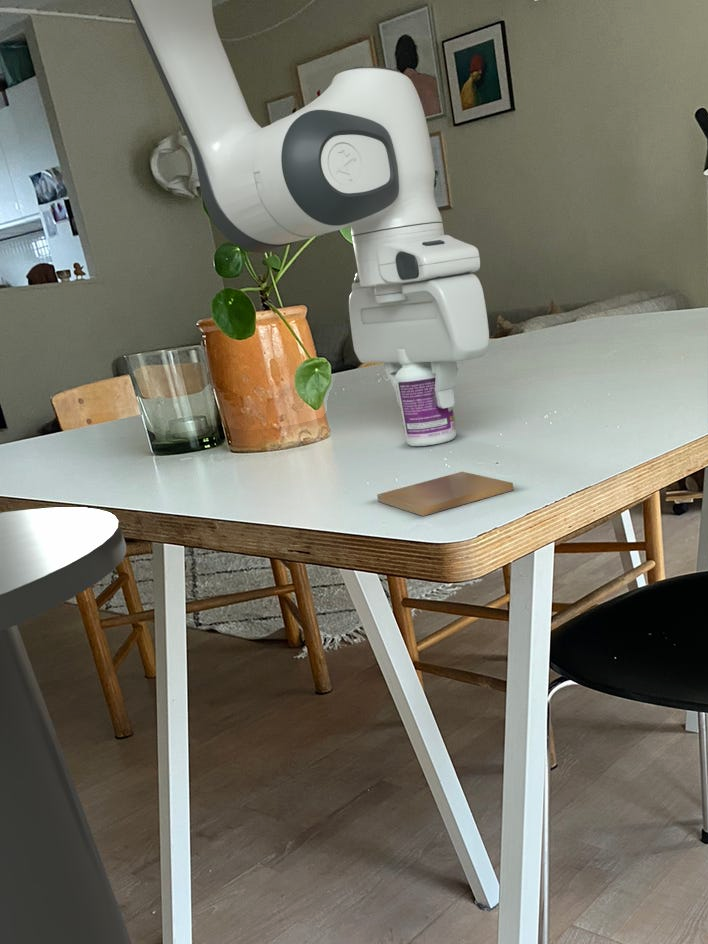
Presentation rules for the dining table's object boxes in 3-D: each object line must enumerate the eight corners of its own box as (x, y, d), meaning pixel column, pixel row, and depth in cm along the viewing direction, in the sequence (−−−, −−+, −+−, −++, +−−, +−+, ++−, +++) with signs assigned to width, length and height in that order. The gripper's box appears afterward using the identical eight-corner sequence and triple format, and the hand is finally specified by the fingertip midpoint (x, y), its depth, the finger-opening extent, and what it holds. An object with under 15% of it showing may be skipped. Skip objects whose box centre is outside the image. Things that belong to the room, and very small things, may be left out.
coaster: (422, 516, 68) (421, 508, 68) (377, 501, 75) (376, 494, 74) (514, 490, 71) (513, 482, 71) (463, 478, 78) (462, 471, 78)
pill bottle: (466, 438, 95) (451, 341, 92) (419, 449, 93) (402, 350, 90) (444, 433, 100) (429, 341, 96) (399, 444, 98) (382, 350, 94)
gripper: (324, 275, 97) (351, 409, 102) (432, 256, 81) (457, 416, 86) (376, 267, 100) (399, 398, 105) (490, 247, 84) (510, 402, 89)
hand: (426, 406), depth 95 cm, fingers closed on pill bottle, 5 cm apart
